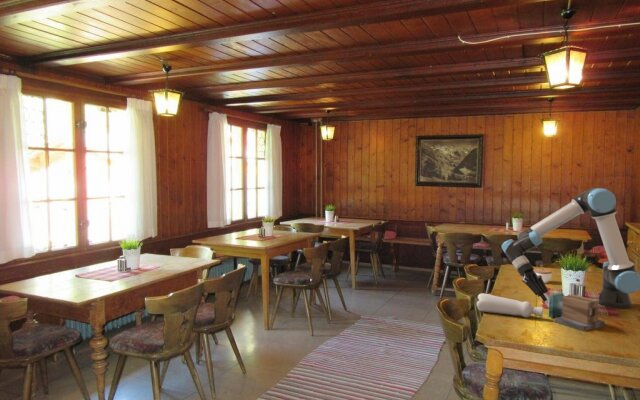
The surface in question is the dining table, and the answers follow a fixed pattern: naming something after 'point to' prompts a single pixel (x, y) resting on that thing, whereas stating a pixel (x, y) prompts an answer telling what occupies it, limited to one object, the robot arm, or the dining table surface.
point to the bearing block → (579, 313)
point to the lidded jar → (544, 274)
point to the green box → (557, 305)
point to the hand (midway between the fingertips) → (551, 305)
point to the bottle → (506, 306)
